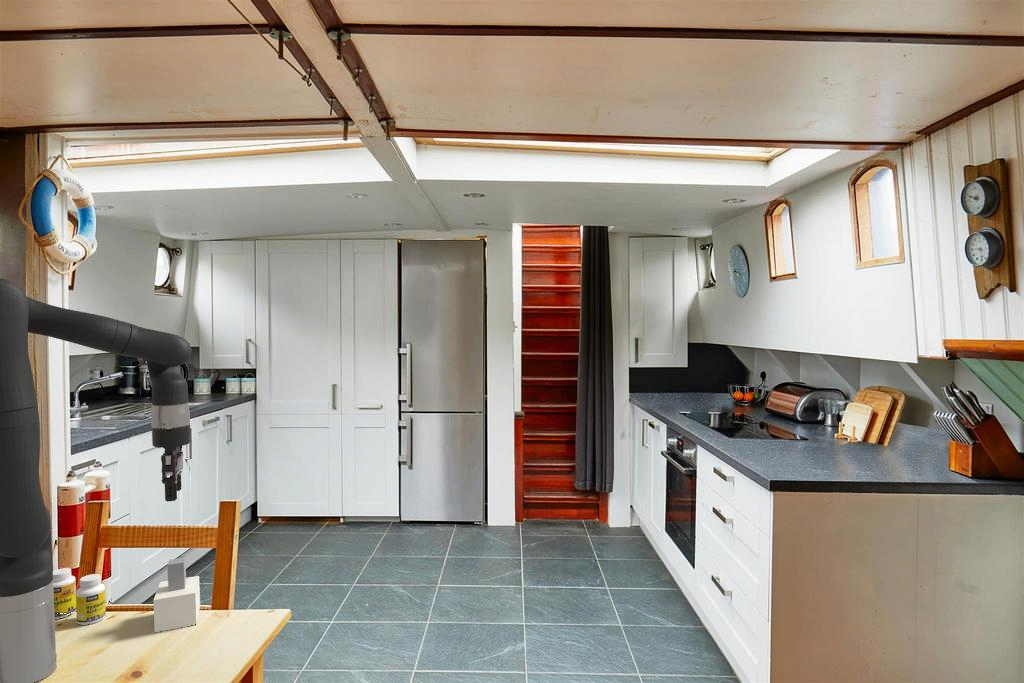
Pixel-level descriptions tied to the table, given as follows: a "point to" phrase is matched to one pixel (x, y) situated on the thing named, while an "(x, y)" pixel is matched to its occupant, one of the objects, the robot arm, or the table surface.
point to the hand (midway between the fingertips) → (173, 495)
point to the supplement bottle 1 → (64, 592)
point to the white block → (176, 598)
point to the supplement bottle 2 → (90, 600)
